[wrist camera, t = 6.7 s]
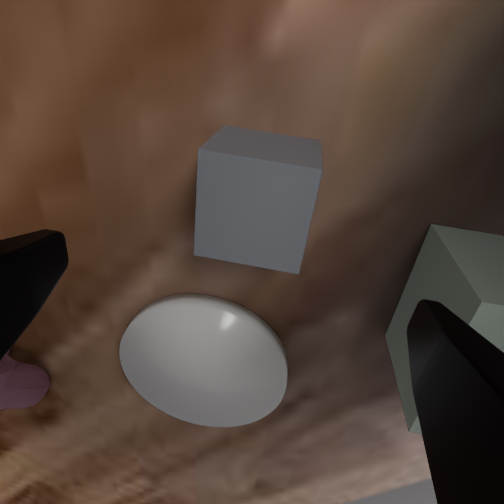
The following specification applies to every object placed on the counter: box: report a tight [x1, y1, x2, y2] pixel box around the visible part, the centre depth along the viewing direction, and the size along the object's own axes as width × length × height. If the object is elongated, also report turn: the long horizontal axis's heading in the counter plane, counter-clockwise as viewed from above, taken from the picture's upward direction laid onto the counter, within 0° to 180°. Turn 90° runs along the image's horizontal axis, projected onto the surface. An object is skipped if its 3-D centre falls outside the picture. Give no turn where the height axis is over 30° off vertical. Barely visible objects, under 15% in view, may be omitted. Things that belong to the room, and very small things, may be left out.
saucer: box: [119, 294, 288, 427], centre depth 22 cm, size 10×10×1 cm
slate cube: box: [194, 125, 323, 274], centre depth 14 cm, size 4×4×4 cm
